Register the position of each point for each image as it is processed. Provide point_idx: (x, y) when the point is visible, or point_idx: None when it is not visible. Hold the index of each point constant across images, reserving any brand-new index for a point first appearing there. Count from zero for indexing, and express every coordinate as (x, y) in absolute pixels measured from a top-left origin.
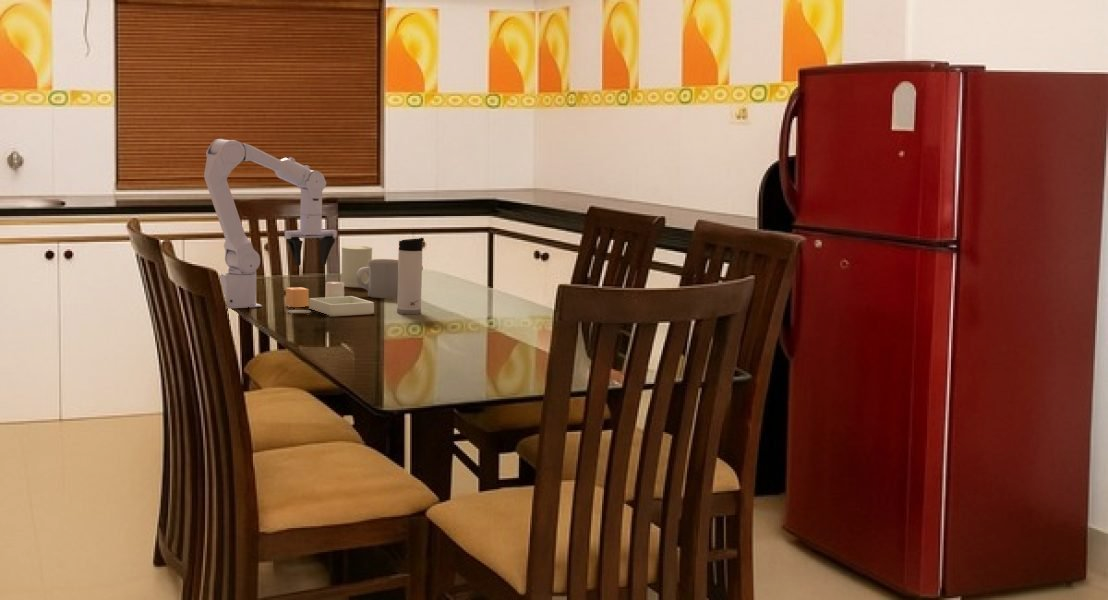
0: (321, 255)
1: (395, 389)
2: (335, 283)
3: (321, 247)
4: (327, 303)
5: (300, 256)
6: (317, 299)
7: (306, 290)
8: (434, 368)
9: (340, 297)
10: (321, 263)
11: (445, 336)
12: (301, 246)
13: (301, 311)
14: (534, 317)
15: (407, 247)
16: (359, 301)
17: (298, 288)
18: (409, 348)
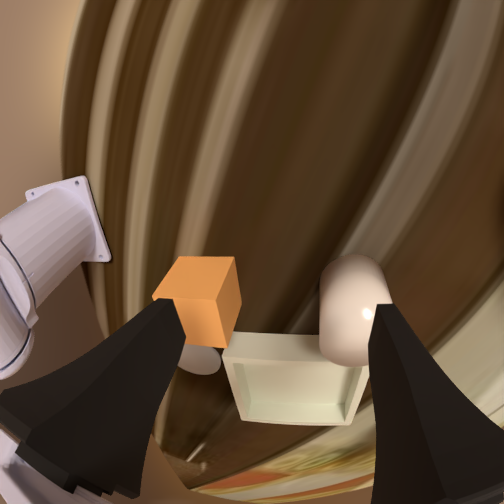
0: (390, 361)
1: (201, 489)
2: (353, 352)
3: (404, 427)
4: (242, 411)
5: (163, 391)
6: (247, 361)
7: (219, 344)
8: (240, 491)
9: (326, 367)
10: (375, 315)
11: (318, 476)
12: (143, 460)
13: (197, 361)
14: None
15: None
16: (353, 392)
17: (195, 322)
18: (253, 480)
